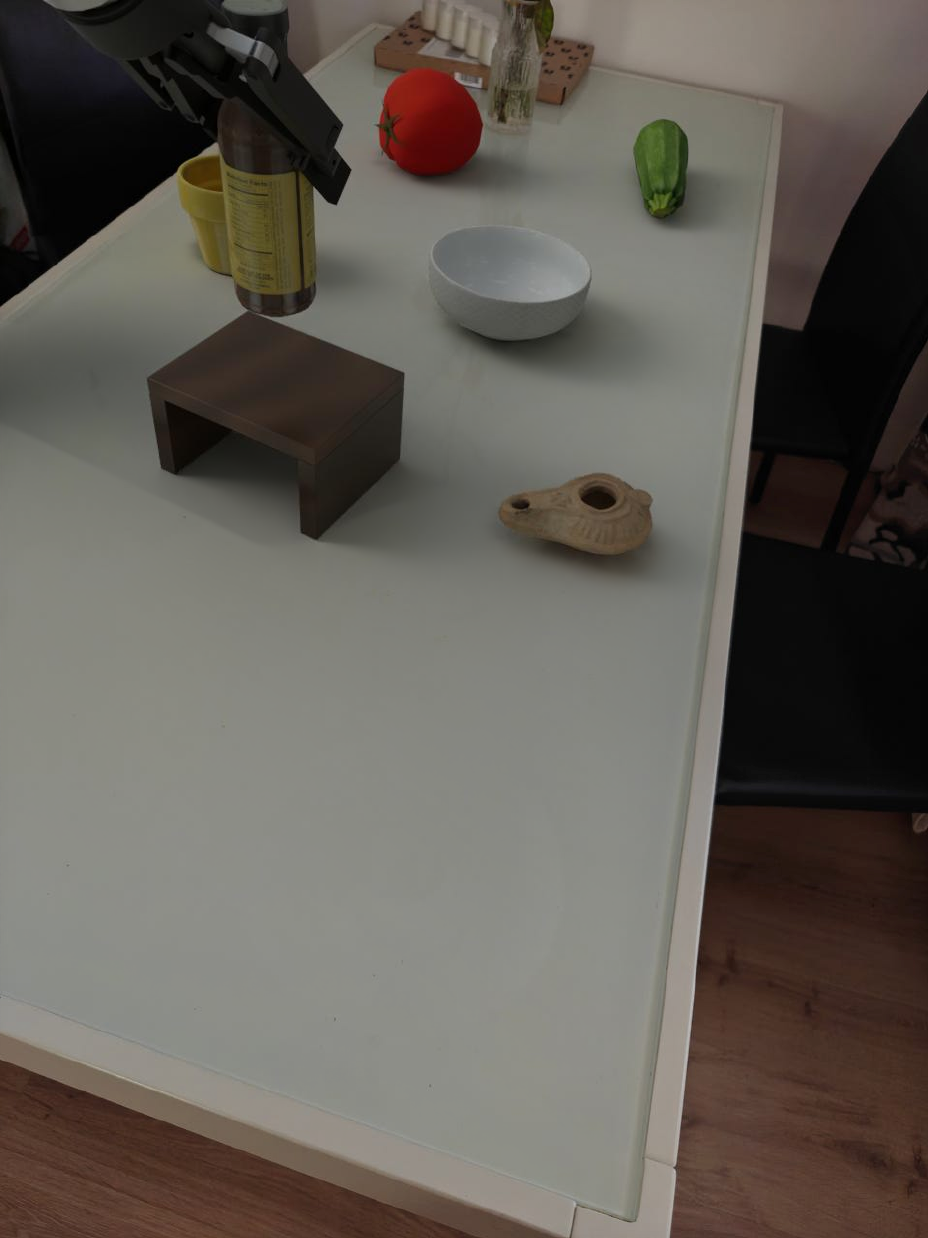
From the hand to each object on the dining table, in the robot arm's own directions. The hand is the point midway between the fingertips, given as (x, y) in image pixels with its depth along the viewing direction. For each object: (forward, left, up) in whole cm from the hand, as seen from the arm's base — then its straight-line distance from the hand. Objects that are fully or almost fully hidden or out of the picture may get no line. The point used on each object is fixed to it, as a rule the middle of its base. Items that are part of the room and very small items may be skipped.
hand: (299, 171), depth 71 cm
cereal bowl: (+4, +30, -24) cm, 39 cm away
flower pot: (-26, +23, -24) cm, 42 cm away
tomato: (-22, +59, -24) cm, 67 cm away
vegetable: (+6, +72, -24) cm, 76 cm away
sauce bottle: (0, -4, -9) cm, 9 cm away
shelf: (0, -3, -24) cm, 24 cm away
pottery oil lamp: (+25, +3, -24) cm, 35 cm away
